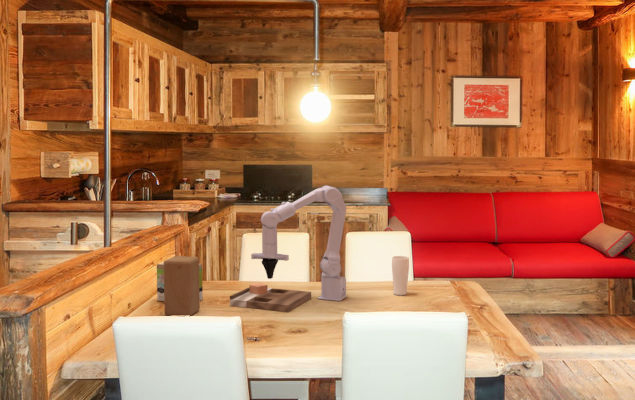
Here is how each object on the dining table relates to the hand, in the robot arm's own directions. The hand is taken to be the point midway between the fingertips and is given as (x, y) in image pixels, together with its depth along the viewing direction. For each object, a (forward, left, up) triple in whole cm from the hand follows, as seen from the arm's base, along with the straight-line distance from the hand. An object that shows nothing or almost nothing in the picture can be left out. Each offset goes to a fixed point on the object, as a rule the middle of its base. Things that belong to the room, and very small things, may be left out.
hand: (270, 278), depth 249 cm
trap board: (-1, 0, -9) cm, 9 cm away
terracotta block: (+6, -3, -7) cm, 10 cm away
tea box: (+34, +11, -10) cm, 37 cm away
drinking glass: (-43, -30, -10) cm, 54 cm away
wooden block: (+23, +26, -10) cm, 36 cm away
